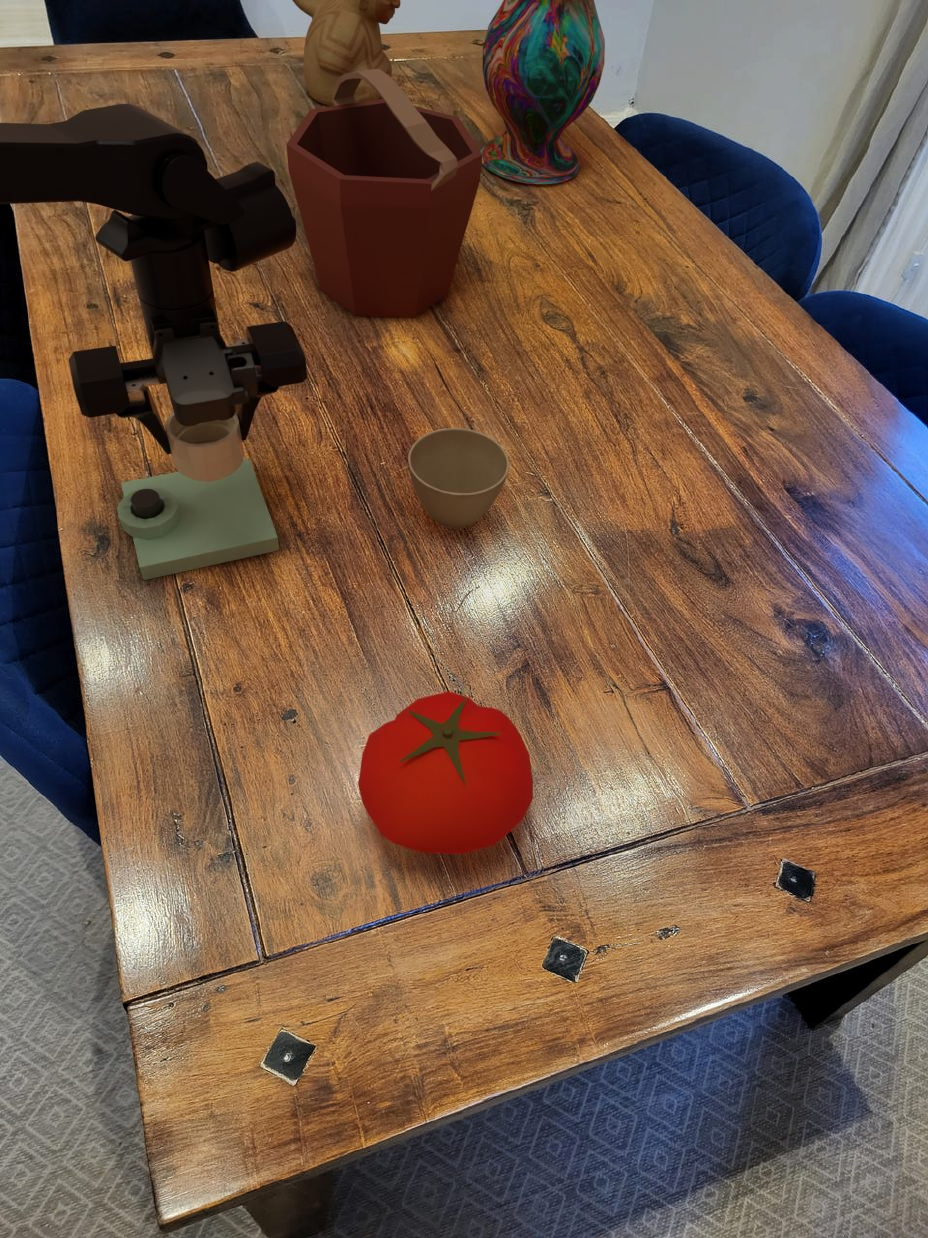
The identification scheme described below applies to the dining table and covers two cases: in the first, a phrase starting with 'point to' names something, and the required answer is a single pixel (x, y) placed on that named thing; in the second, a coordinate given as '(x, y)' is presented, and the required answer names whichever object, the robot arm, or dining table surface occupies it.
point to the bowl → (205, 448)
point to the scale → (198, 522)
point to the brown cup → (457, 474)
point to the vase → (540, 84)
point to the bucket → (383, 197)
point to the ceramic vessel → (344, 44)
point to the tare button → (146, 503)
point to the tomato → (446, 776)
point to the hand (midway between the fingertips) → (205, 444)
